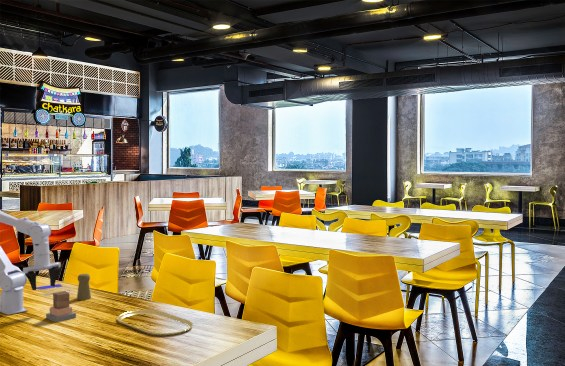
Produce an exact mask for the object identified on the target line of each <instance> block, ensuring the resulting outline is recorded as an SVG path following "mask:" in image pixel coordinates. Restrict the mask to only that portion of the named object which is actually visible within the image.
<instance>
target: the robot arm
mask: <svg viewBox="0 0 565 366" xmlns="http://www.w3.org/2000/svg"><path fill="white" fill-rule="evenodd" d="M29 218H30V217H27V216H25V217H21V218H17V217H15V216H13V215H10V214H8V213H6V212H5V211H2V210H1V209H0V223H2V224H5V225H9V226H12V227H15V230H16V231H17V232H20V233H23V234H25V235H27V236H29V237H30V238H31V243H32V245H33V248H32V249H33V261H34V263H33V264H34V265H31V266H27V267H23V268H22V270H21V269H20V268H19V267H18V266H16V265H14V264H12V262H11V260H10V259H9V256H8V255H7V254H6V253H5V251H4V249H3V248H2V246H1V245H0V289H1V290H2V291H1V292H0V313H3V314H5V315H8V316H9V315H15V314H19V313H23V312H27V311H28V309H27V308H24V288H25V286H26V284H27V282H28V281H29V284H30V287H31V290H32V291H37V290H36V287H37V273H35V272H38V271H44V270H48V274H49V284H50V285H51V286H55V285H56V280H57V278H58V275H59V273H60V270H61V267H62V264H61V263H62V262H60V261H56V262H51V258H50V244H49V243H50V240H49V237H50V236H51V234H52V228H51V227H50V225H49V224H47V223H40V222H39V221H33V220H31V219H29Z"/></svg>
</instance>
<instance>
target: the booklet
mask: <svg viewBox="0 0 565 366" xmlns="http://www.w3.org/2000/svg"><path fill="white" fill-rule="evenodd" d="M55 287H56V288H62V287H63V285H62V284H60V283H58V284H56V283H55V286H51V285H49V284H48V285H43V286H42V285H41V286H36V289H40V290H45V289H53V288H55ZM53 293H54V292H53ZM53 293H46V294H45V296H47V295H53Z"/></svg>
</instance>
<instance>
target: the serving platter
mask: <svg viewBox="0 0 565 366" xmlns="http://www.w3.org/2000/svg"><path fill="white" fill-rule="evenodd" d="M147 314H149V315H156V316H160V317H163V318H166V317H167V319H169V318H170V319H169V320H172V319H173V321H175V320H177V321H176V322H178V321H180V322H179V323H181V322H183V323H186V324H188V325H189V326H190V328H189V327H188V328H187V329H183V330H180V331H174V332H163V333H161V332H152V331H146V330H145V329H142V328H139V327H137V326H134V325H131V324H128V323H126V322H123V321H122V320H123V319H125V318H128V317H130V316H135V315H147ZM117 321H118V322H119V323H120V324H121V325H124V326H126V327H129V328H132V329H134V330H137V331H140V332H142V333H144V334H147V335H150V336H156V335H157V336H159V337H165V336H166V337H168V336H167V335H170V336H176V335H175V334H177V335H181V334H184V333H187V332H189V330H191V329H192V327H193V322H192V321H190V320H188V319H185V318H183V317H180V316H178V315H177V316H176V315H173V314H170V313H167V312H165V311H162V310H153V309H142V310H141V309H139V310H138V309H137V310H132V311H127V312H124V313H122V314H120V315H118V316H117ZM183 323H182V324H183ZM186 324H185V325H186ZM188 325H187V326H188ZM186 331H187V332H186ZM180 333H181V334H180ZM157 336H156V337H157Z"/></svg>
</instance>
